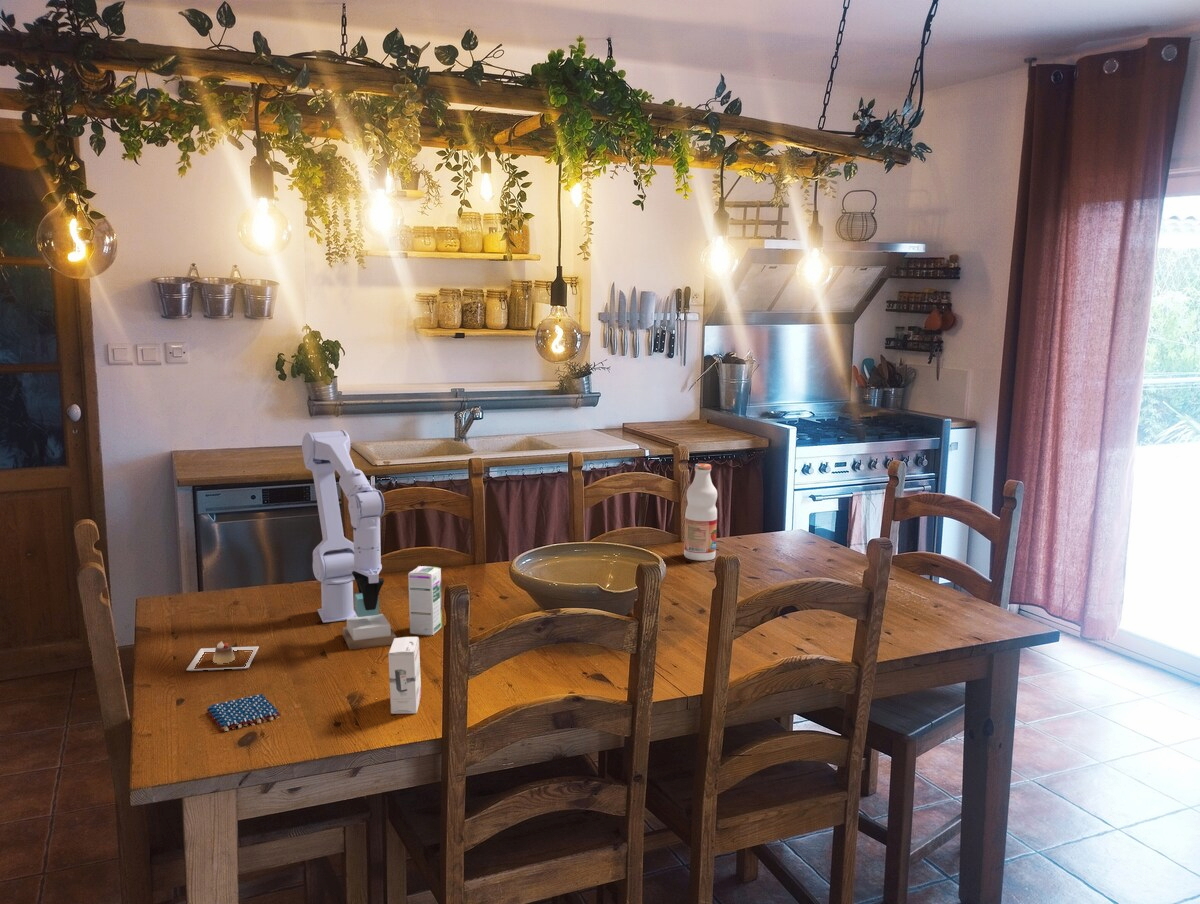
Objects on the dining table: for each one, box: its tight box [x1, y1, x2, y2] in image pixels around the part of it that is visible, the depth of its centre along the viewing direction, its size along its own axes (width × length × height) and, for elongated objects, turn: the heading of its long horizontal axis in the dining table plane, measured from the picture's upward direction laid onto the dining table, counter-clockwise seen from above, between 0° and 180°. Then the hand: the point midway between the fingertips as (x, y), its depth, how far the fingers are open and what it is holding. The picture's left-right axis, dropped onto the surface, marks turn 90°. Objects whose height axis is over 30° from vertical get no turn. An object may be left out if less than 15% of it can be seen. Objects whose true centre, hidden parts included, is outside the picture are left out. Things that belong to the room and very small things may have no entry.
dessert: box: [185, 640, 260, 672], centre depth 198 cm, size 12×12×5 cm
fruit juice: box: [683, 463, 718, 562], centre depth 283 cm, size 9×9×28 cm
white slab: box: [346, 613, 392, 641], centre depth 211 cm, size 8×8×2 cm
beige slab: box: [341, 626, 397, 651], centre depth 212 cm, size 10×10×2 cm
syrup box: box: [407, 565, 443, 636], centre depth 217 cm, size 6×6×14 cm
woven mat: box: [206, 693, 281, 732], centre depth 173 cm, size 10×11×2 cm
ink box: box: [387, 636, 422, 715], centre depth 178 cm, size 9×5×12 cm, turn 5°
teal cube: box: [353, 592, 380, 617], centre depth 211 cm, size 4×4×4 cm
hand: (368, 605), depth 211 cm, fingers closed on teal cube, 4 cm apart
